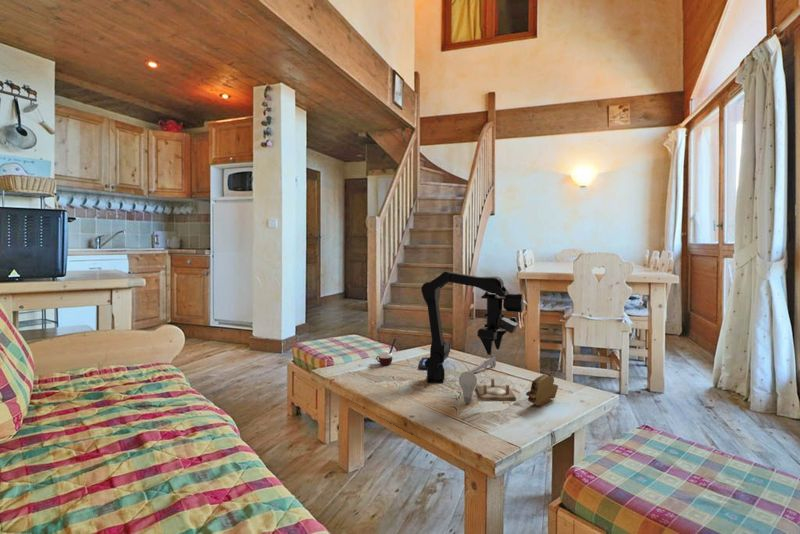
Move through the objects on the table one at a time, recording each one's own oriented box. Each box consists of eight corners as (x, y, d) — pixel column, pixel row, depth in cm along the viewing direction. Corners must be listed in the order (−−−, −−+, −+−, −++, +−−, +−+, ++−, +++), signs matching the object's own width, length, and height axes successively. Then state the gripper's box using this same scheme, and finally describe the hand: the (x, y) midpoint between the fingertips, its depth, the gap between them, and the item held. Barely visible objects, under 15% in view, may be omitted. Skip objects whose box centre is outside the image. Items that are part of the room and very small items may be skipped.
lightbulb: (457, 400, 148) (456, 369, 148) (474, 399, 149) (474, 368, 148) (460, 407, 142) (460, 374, 141) (478, 406, 143) (478, 374, 142)
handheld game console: (421, 360, 199) (421, 340, 199) (450, 361, 197) (450, 341, 197) (418, 370, 184) (418, 349, 183) (450, 371, 182) (450, 350, 181)
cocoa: (374, 364, 193) (372, 338, 192) (384, 361, 198) (382, 336, 197) (389, 368, 187) (387, 341, 186) (399, 364, 191) (397, 338, 191)
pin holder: (481, 400, 148) (481, 388, 148) (476, 388, 160) (476, 377, 160) (515, 400, 148) (515, 388, 148) (508, 388, 160) (508, 377, 160)
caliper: (493, 366, 188) (493, 352, 188) (495, 367, 187) (495, 353, 187) (464, 376, 175) (464, 361, 174) (466, 377, 174) (466, 362, 173)
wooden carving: (546, 395, 152) (546, 368, 151) (558, 399, 149) (559, 371, 148) (523, 408, 140) (523, 379, 140) (535, 412, 137) (536, 382, 137)
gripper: (507, 316, 146) (506, 361, 147) (523, 309, 162) (522, 349, 163) (477, 313, 152) (476, 356, 153) (494, 306, 168) (494, 345, 169)
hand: (493, 351), depth 160 cm, fingers open, 9 cm apart
